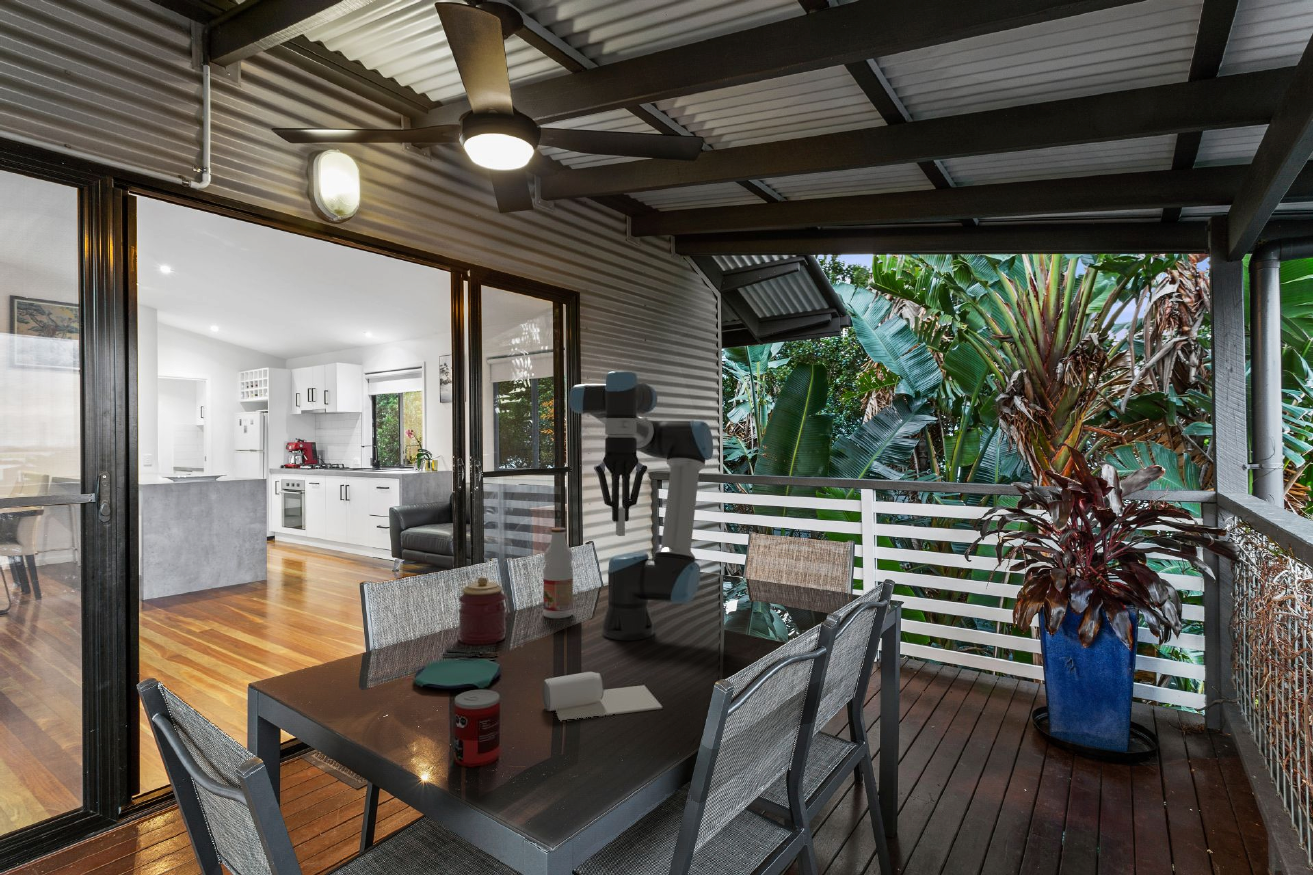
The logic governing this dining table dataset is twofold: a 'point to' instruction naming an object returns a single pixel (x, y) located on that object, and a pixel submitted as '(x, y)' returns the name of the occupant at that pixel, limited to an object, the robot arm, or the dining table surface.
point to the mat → (613, 704)
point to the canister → (482, 613)
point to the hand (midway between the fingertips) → (620, 535)
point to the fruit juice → (558, 577)
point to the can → (572, 690)
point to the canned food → (476, 727)
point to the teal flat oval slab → (458, 671)
